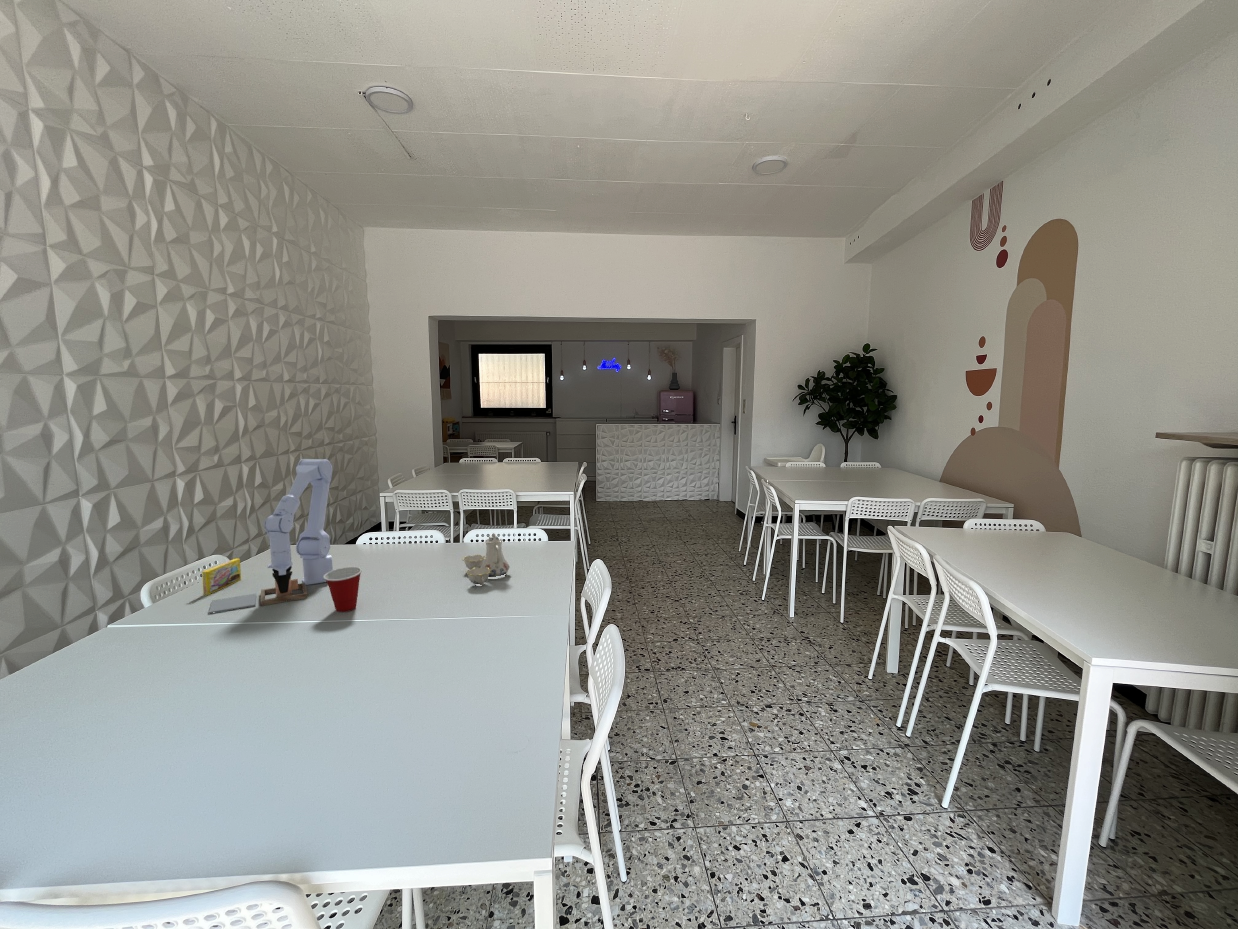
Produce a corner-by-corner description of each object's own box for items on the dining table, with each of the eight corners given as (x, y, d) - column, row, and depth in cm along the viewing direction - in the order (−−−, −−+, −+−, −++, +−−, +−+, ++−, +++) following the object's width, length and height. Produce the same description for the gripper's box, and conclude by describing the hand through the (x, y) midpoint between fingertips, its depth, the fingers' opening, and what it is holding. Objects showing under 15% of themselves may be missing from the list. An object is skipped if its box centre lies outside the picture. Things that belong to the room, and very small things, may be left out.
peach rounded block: (276, 599, 185) (274, 581, 184) (276, 595, 188) (274, 577, 188) (299, 595, 188) (297, 578, 187) (298, 591, 192) (297, 574, 191)
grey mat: (256, 595, 189) (256, 593, 189) (255, 606, 179) (255, 604, 178) (212, 602, 182) (212, 600, 182) (208, 614, 172) (208, 612, 172)
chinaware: (459, 573, 216) (452, 531, 214) (501, 563, 223) (496, 523, 220) (471, 596, 191) (464, 549, 188) (519, 584, 198) (513, 539, 195)
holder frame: (305, 586, 197) (305, 582, 196) (307, 598, 186) (307, 593, 185) (261, 593, 190) (261, 589, 190) (261, 605, 179) (260, 601, 179)
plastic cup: (318, 611, 174) (315, 574, 172) (349, 600, 183) (346, 564, 182) (341, 618, 169) (338, 579, 167) (371, 606, 178) (369, 569, 177)
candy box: (209, 595, 189) (206, 571, 188) (202, 595, 189) (200, 571, 188) (242, 580, 205) (240, 558, 204) (236, 580, 205) (234, 558, 204)
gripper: (266, 547, 190) (269, 586, 192) (266, 557, 178) (269, 599, 179) (290, 544, 194) (293, 582, 195) (292, 554, 181) (295, 595, 183)
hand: (283, 590), depth 188 cm, fingers closed on peach rounded block, 5 cm apart
